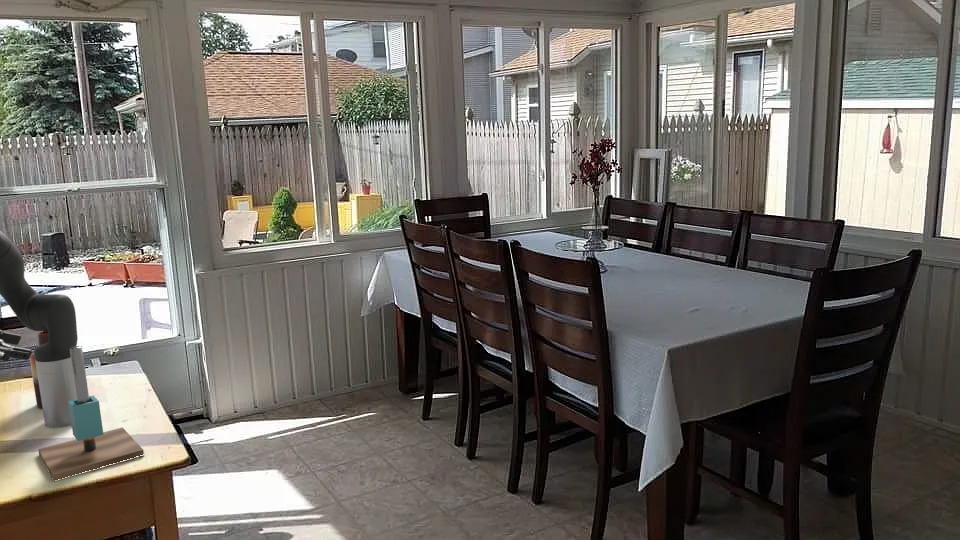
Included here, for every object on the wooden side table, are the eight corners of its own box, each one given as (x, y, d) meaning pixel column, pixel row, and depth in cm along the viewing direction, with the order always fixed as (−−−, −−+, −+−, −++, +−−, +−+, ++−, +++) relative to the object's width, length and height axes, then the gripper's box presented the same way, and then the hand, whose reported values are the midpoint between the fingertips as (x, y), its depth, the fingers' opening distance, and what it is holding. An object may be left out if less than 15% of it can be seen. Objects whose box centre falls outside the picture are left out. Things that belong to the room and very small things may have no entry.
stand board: (39, 455, 168) (38, 449, 168) (123, 433, 180) (122, 427, 179) (53, 481, 155) (52, 475, 154) (144, 455, 166) (143, 449, 165)
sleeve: (73, 434, 167) (68, 401, 165) (98, 428, 170) (93, 395, 168) (77, 441, 163) (72, 407, 161) (103, 434, 166) (98, 401, 164)
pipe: (82, 449, 167) (67, 347, 163) (95, 445, 169) (80, 345, 164) (85, 452, 165) (70, 350, 161) (97, 449, 167) (83, 347, 162)
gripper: (-46, 327, 143) (41, 344, 155) (-61, 302, 152) (22, 320, 164) (-62, 362, 143) (26, 376, 155) (-76, 335, 152) (8, 350, 164)
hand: (24, 347), depth 160 cm, fingers open, 8 cm apart
